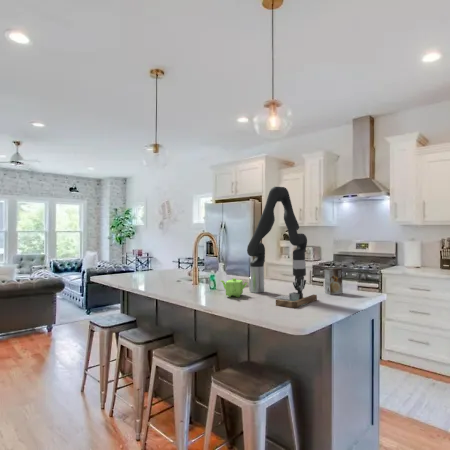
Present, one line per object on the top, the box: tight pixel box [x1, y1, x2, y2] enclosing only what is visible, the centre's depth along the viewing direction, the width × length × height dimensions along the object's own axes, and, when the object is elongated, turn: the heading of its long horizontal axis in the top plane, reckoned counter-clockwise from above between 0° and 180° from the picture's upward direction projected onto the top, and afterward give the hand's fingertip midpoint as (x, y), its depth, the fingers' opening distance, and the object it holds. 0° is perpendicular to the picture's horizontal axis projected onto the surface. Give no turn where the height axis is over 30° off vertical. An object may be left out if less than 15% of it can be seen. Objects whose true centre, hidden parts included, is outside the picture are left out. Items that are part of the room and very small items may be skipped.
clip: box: [288, 292, 304, 301], centre depth 195 cm, size 6×5×4 cm
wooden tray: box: [275, 294, 318, 309], centre depth 192 cm, size 12×26×3 cm, turn 140°
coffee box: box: [323, 267, 343, 296], centre depth 218 cm, size 9×6×16 cm
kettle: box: [219, 277, 248, 298], centre depth 216 cm, size 15×14×11 cm
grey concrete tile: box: [274, 294, 289, 300], centre depth 206 cm, size 10×8×1 cm
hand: (300, 297), depth 199 cm, fingers closed
